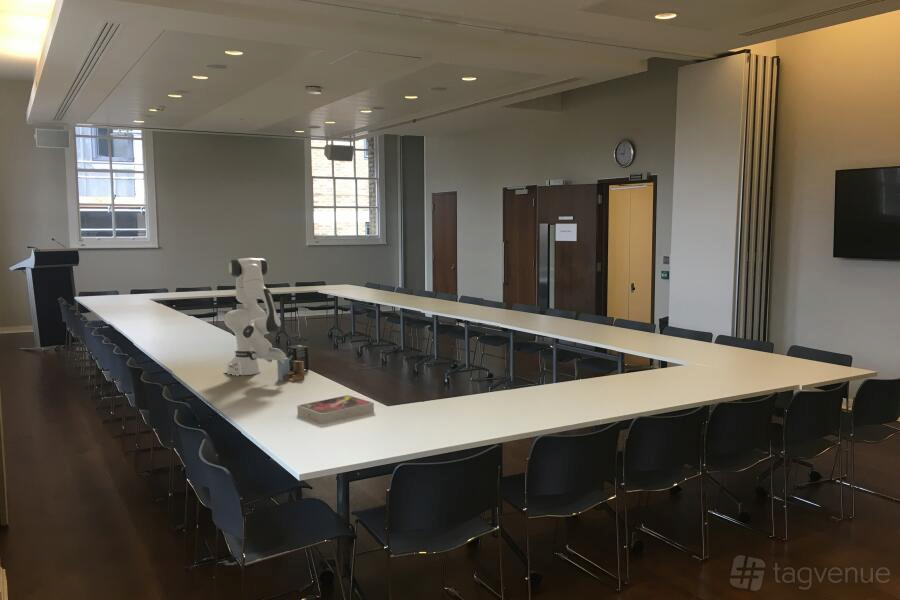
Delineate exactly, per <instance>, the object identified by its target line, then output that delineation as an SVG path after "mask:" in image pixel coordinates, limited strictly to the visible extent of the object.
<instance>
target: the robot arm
mask: <svg viewBox="0 0 900 600" xmlns="http://www.w3.org/2000/svg"><path fill="white" fill-rule="evenodd" d="M228 271H229V274H230V275H231V277H235V278H236V279H235V299H236V300H237V302H239V303H241V304H243V308H241V309H240V308H239V309H233V310H230V311H227V312H226V313H225V315H224V318H223V321H224V325H225V326H226V327H227V328H229V329H230V330H231V331H232V332H233V333H234V335H235V339H236V347H237V348H236V349H237V350H234V354H235V355H234V357H233V358H232V359H231V360H230V361H228V363H227V369H226V370H223V374H225V373H227V374H226V375H230V374H232V375H231V376H235V375H236V376H235V377H239V375H241V376H250V375H256V374H260V373H261V368H260V366H259V365H260V364H259V359H260V360H265V361H267V362H268V363H272V361H277V360H279V361H280V363H281V364H284V362H285V361H284V360H285V358H287V354H286V353H285V352H283V350H282V349H280V348H276V347H273V345H272V343H271V342H270V341H269V340H268V338H266V337H265V335H268V334H273V333H277V332H279V330H280V329H281V326H282V321H281V319H280V317H279V314H278V311H277V308H276V305H275V304H276V303H275V302H274V298H273V295H272V292H271V290H270V289H269V288H267V287H266V286H265V283H264V281H265V280H264V276H266V274H268V271H269V265H268V261H267V260H266V259H265V258H261V257H259V258H257V257H246V258H245V257H243V258H233V259H231V260H230V261H229V263H228ZM257 299H258V300H262V301H263V302H264V307H265V310H266V311H265V310H264V309H263V308H261V307H260V305H259V304H258V302H257ZM266 312H267V314H266Z"/></svg>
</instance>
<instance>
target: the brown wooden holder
mask: <svg viewBox="0 0 900 600" xmlns="http://www.w3.org/2000/svg"><path fill="white" fill-rule="evenodd" d="M293 367H294V371H292V372H290V373H289V374H286V375H285V380H287V381H286V382H292V381H295V382H298V381H301V380H304V379H305V371H304V361H293ZM303 378H304V379H303ZM300 379H301V380H300ZM285 380H284V381H285ZM297 380H298V381H297Z"/></svg>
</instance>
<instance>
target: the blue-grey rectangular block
mask: <svg viewBox="0 0 900 600" xmlns="http://www.w3.org/2000/svg"><path fill="white" fill-rule="evenodd" d="M284 361H285V362H284V364H281V363H280V361H279V360H276V362H277V379H278V381H285V375H286V374H289V373H291V370H290V367H289V358H288V357H286V358H285V360H284Z"/></svg>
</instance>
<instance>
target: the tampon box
mask: <svg viewBox="0 0 900 600" xmlns="http://www.w3.org/2000/svg"><path fill="white" fill-rule="evenodd" d="M286 348H287V358H289V367H290V371H291V370H292V371H291V372H294V367H293V361H304V369H306V371H309V370H310V368H309V367H310V366H309V348H308V346H306V345H303V344H295V345H289V346H288V345H287V346H286Z"/></svg>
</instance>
